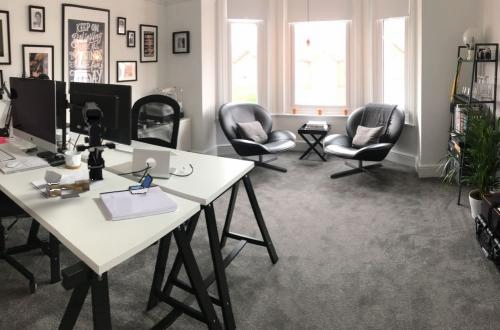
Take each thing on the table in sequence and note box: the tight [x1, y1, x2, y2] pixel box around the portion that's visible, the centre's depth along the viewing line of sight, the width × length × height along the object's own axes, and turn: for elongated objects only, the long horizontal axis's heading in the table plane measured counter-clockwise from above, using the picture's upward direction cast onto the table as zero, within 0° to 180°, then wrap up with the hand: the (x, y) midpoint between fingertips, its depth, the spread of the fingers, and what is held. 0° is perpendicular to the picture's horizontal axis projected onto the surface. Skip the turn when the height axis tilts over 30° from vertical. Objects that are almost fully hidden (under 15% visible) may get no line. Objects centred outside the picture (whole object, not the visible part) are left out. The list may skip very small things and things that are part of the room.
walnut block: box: [74, 179, 91, 192], centre depth 220 cm, size 6×6×4 cm
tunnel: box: [45, 182, 83, 198], centre depth 216 cm, size 16×11×3 cm
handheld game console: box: [128, 172, 154, 190], centre depth 221 cm, size 12×11×7 cm
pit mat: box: [60, 192, 80, 199], centre depth 210 cm, size 8×6×1 cm
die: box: [43, 168, 63, 184], centre depth 230 cm, size 8×9×10 cm
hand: (97, 163), depth 222 cm, fingers closed
